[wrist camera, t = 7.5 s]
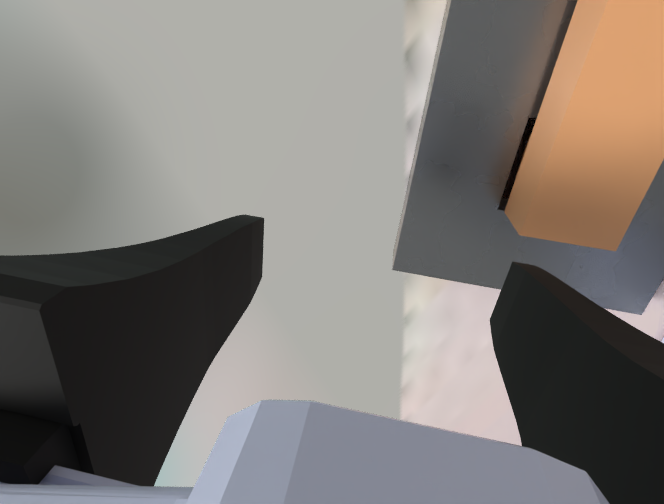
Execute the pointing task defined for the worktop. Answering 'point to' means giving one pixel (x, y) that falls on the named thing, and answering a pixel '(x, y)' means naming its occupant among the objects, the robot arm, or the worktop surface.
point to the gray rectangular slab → (505, 163)
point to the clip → (595, 128)
